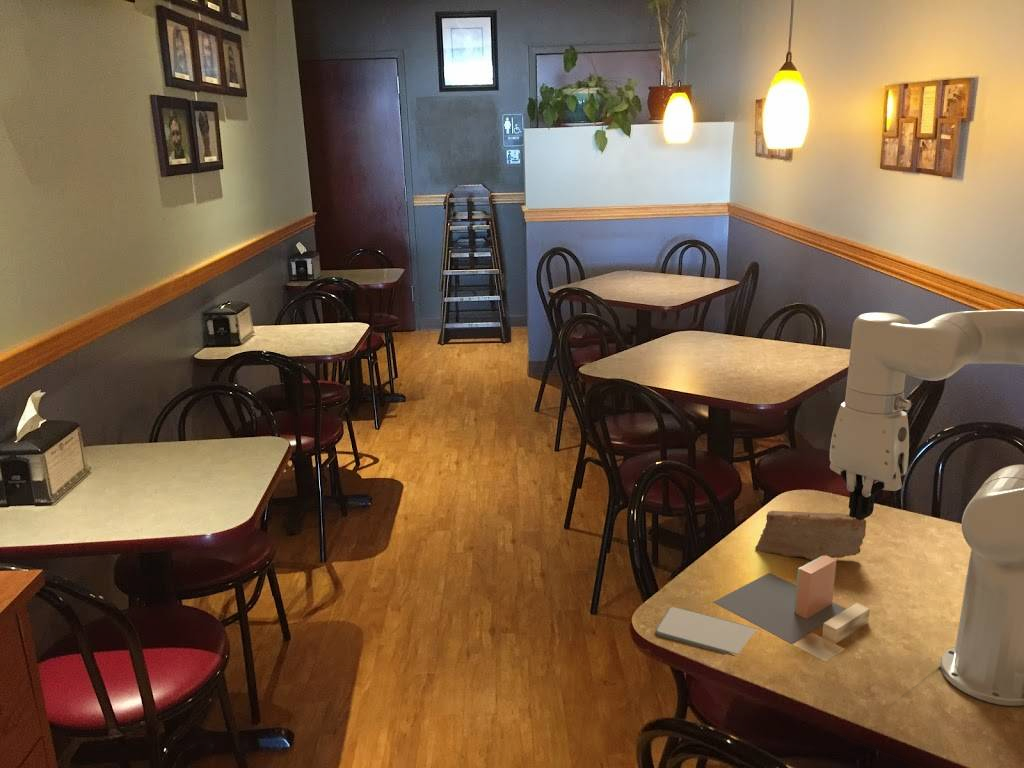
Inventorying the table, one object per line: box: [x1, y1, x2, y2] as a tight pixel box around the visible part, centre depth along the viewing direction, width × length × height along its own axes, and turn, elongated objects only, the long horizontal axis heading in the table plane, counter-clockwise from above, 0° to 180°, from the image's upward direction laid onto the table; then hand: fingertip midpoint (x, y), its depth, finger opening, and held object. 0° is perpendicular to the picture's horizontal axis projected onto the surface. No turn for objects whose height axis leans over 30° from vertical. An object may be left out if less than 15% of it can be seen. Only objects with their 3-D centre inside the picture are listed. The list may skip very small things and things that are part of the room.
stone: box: [755, 510, 867, 561], centre depth 150 cm, size 19×10×4 cm
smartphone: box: [655, 606, 763, 657], centre depth 130 cm, size 8×1×15 cm
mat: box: [713, 572, 847, 645], centre depth 137 cm, size 15×15×1 cm
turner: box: [792, 602, 871, 663], centre depth 128 cm, size 14×6×3 cm, turn 127°
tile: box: [794, 555, 837, 619], centre depth 134 cm, size 2×7×8 cm, turn 127°
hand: (860, 516), depth 125 cm, fingers closed
